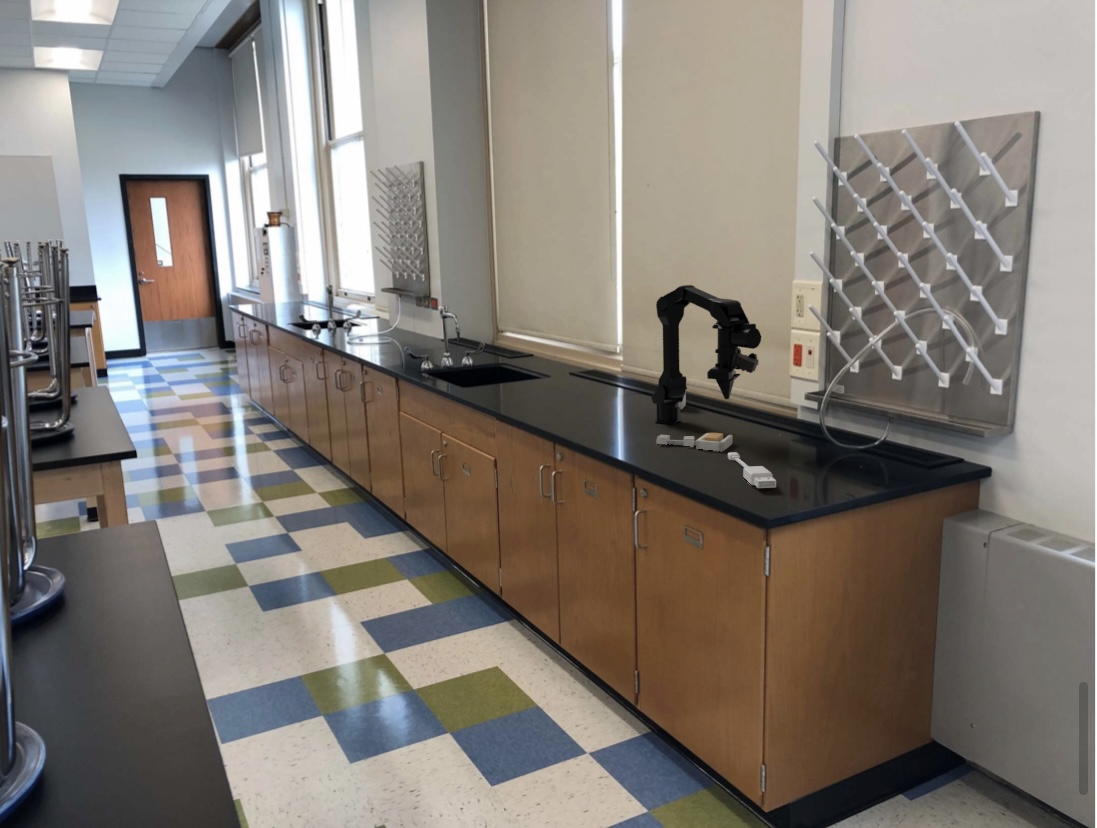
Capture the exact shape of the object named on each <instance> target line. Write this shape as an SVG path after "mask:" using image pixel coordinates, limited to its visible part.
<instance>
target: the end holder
mask: <svg viewBox="0 0 1097 828" xmlns="http://www.w3.org/2000/svg"><path fill="white" fill-rule="evenodd" d="M710 433H711V432H706V433H704V434H703V435H702V436H700V437H699V438H697V439H696V440H695V441H696V445H695V450H698V449H703V450H702V451H708V450H713V451H712V452H719V451H720V452H721V453H722V452H724V451H726V449H728V448H729V447H730V446H732V445H733V435H732V434H728V435H727V436H726V437H723V440H722V441H720V442H717V441H706V440H705V437H706V436H707V435H708V434H710Z"/></svg>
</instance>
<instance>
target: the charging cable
mask: <svg viewBox="0 0 1097 828" xmlns="http://www.w3.org/2000/svg"><path fill="white" fill-rule="evenodd" d="M727 459H728V460H729V461H735V462H737V463H738V464H739V465H740V466H742V467H743V469H742V470H743V472H742V473H743V477H744V478H745V479H746V480H747V481H748V482H749V483H750V484H751V485H755V486H756V487H755V488H757V489H766V488H767V489H769V488H770V489H771V488H772V489H773V488H777V480H776V479H775V478H774V477H773V473H772V472H771V471H770V470H768V469H767V468H765V467H764V466H763V465H759V466H758V465H755V466H749V465H748V464H746V463H745V462H744V461H742V460H741V455H740V454H739V453H738V452H737V451H736V452H735V451H734V452H732V451H730V452H728V453H727ZM743 477H742V478H743ZM748 482H747V483H748ZM749 483H748V484H749ZM750 484H749V485H750ZM751 485H750V486H751Z"/></svg>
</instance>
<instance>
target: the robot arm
mask: <svg viewBox="0 0 1097 828" xmlns="http://www.w3.org/2000/svg"><path fill="white" fill-rule="evenodd" d="M690 304H692V305H695V306H696V307H699V308H702V309H703V310H705V311H707V312H708V313H709V314H710V315H709V316H711V318H713V319H714V320H715V321H716V322H715V323H714V324H713V325H712V327H711V328H712V329H714V330H717V348H716V349H715V350H714V353H715V354H716V355H717V357H716V358H717V361H716V363H715V364H714V367H712V368H709V370H708V371H707V373H706V375H707V376H706V377H707V379H708V380H715V381H716V383H717V385H718V387H719V389H720V392H721V394H722V397H723V399H724V400H730V397H731V394H732V390H733V386H734V383H735V380H737V378H738V377H740V376H741V373H737V372H736V370H741V371H742V372H747V373H750V374H752V373H753V372H756V369H757V366H758V365H759V363H760V362H759V361H760V360H759V359H758V354H757V353H754V352H751V353H749V354H748V355H747V354H743V353H742V349H741V348H744V349H745V348H746V349H751V350H753V349H756V348H758V347H759V346H760V344H761V341H762V334H761V332H760V330H759V329H758V328H757V324H756V323H750V320H749V319H748V318H749V317H748V316H747V315H746V313H745V311H744V309H743V307H742V303H741V302H740V301H739V300H736V299H731V298H719V297H717V296H715V295H712V294H711V293H708V292H706V291H704V290H702V289H699V288H698V287H696V286H695V285H692V284H683V285H679V286H678V287H677V288H675V289H674V290H672V291H670V292H668V293H667V294H664V295H662V296H660V297H659V298H658V299H657V301H656V303H655V305H656V315H657V318H658V320H659V321H660V323H661V325H662V360H663V361H662V362H663V363H662V365H663V366H662V367H663V369H662V373H661V374H660V377H659V379H658V381H657V382H658V384H657V388H656V390H655V392H654V393H653V394H652V396H651V400H652V404H655V405H656V419H655V420H654V423H655V422H656V424H657V423H659V424H667V423H669V424H670V425H672V424H673V425H675V424H677V423H678V422H679V421H681V409H680V407H679V402H682V401H683V398H684V395H685V392H686V393H687V390H688V386H687V380H688V379H687V376H682V374H683V373H682V372H681V371H680V324H681V322H682V319H683V318H684V316H685V308H686V307H687V306H688V305H690ZM681 373H682V374H681ZM669 424H668V425H669Z"/></svg>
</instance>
